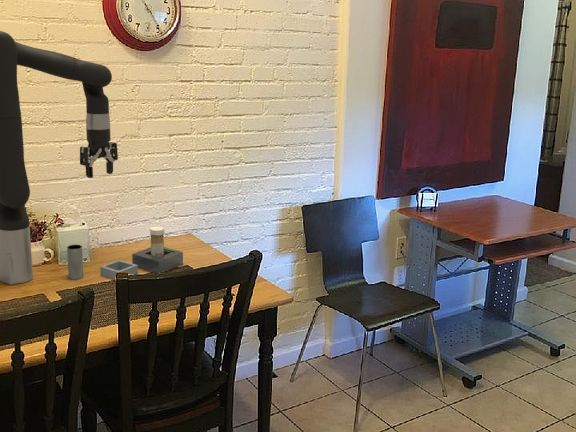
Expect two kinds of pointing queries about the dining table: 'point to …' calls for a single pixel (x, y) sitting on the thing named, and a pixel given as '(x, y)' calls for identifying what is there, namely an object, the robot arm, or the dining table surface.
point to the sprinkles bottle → (157, 241)
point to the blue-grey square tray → (118, 268)
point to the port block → (157, 260)
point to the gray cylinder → (75, 262)
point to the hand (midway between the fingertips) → (99, 175)
